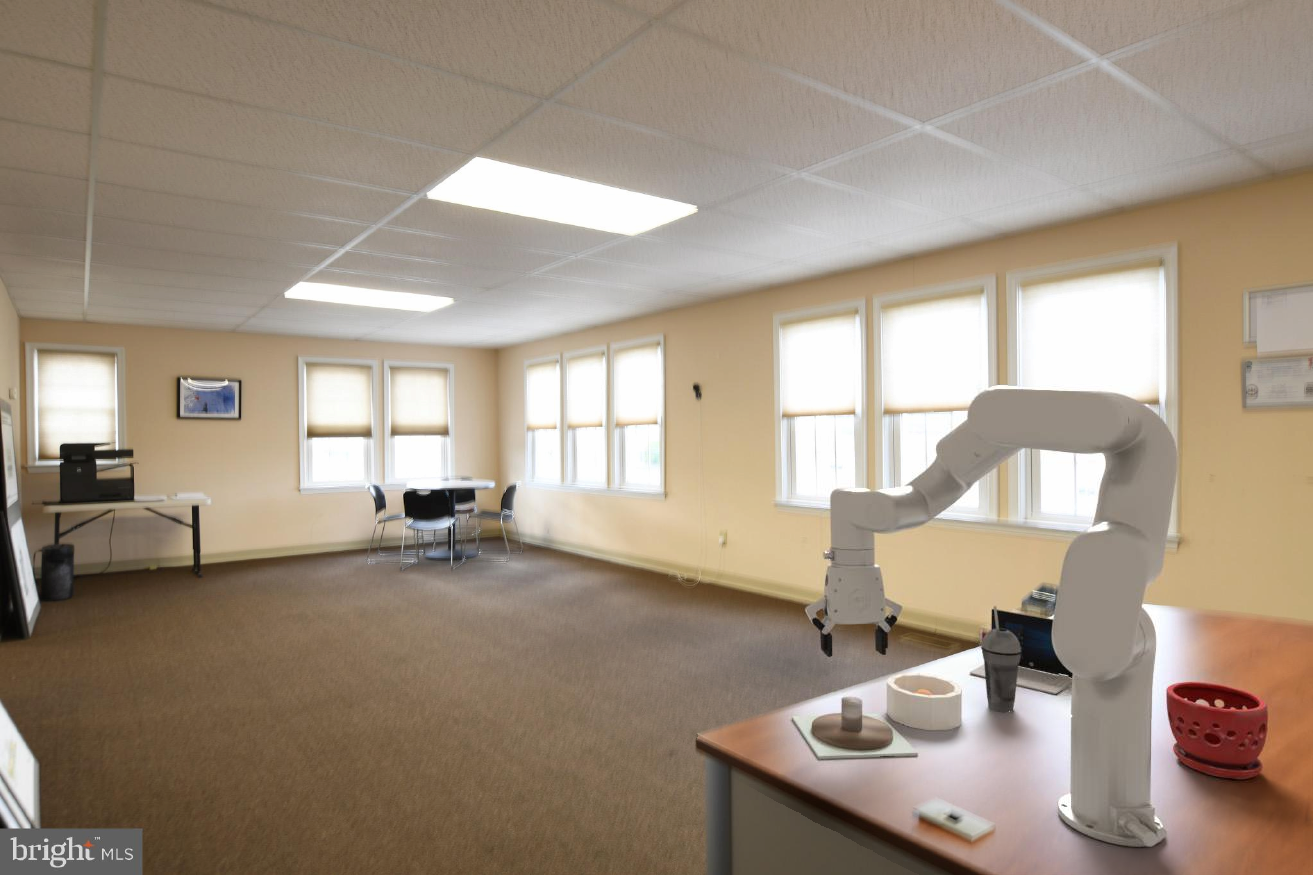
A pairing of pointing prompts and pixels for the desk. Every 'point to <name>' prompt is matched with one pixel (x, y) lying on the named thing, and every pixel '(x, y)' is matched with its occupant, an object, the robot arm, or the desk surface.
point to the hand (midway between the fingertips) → (854, 653)
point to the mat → (830, 752)
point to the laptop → (1033, 652)
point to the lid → (852, 728)
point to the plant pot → (1217, 729)
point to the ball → (923, 692)
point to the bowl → (924, 701)
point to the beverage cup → (1001, 667)
